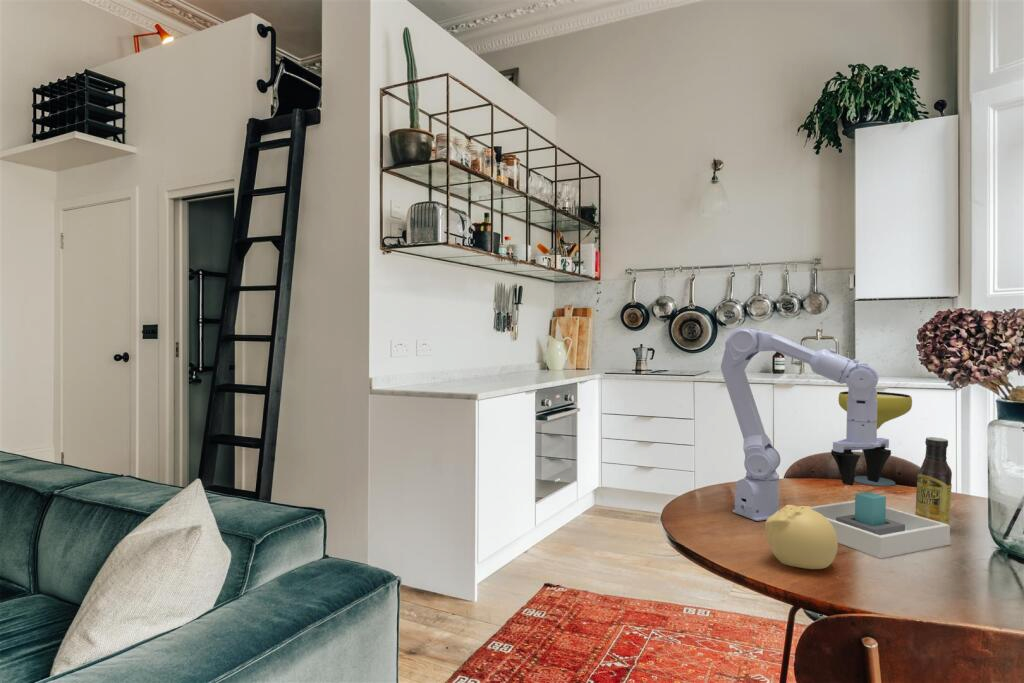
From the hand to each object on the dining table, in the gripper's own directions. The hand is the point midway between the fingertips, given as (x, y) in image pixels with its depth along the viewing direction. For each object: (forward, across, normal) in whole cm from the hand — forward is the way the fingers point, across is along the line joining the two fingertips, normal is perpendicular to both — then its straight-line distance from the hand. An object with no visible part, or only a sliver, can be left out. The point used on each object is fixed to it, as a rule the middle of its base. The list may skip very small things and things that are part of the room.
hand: (860, 482), depth 133 cm
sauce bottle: (+10, +16, -5) cm, 20 cm away
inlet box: (+10, -1, -3) cm, 11 cm away
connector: (+10, -1, -3) cm, 10 cm away
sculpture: (+11, -27, -10) cm, 31 cm away
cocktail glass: (+10, +42, +29) cm, 52 cm away
